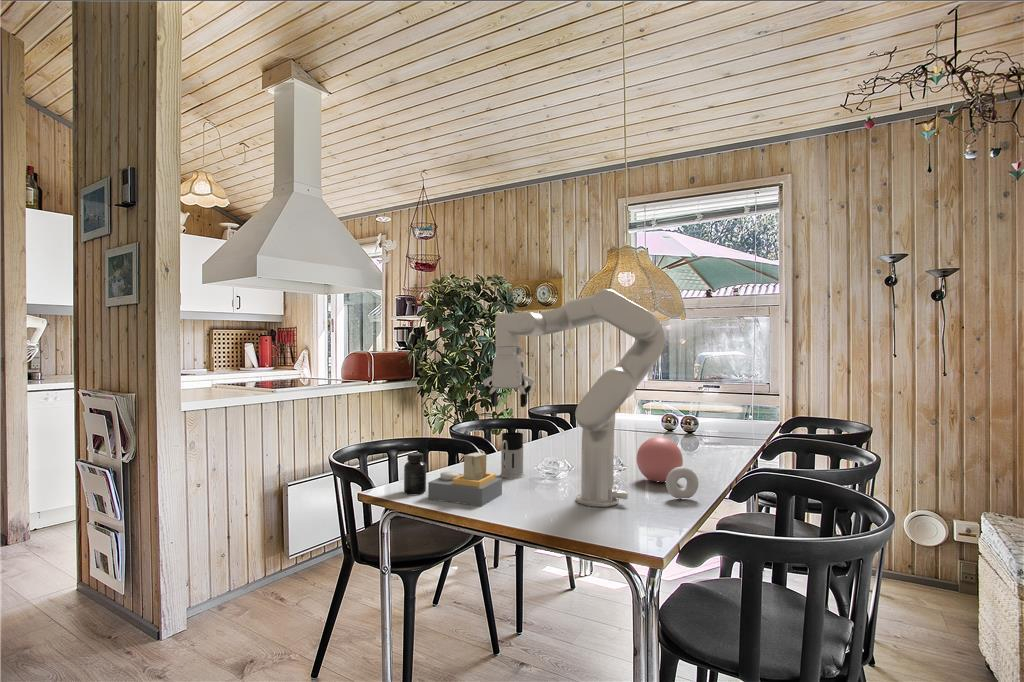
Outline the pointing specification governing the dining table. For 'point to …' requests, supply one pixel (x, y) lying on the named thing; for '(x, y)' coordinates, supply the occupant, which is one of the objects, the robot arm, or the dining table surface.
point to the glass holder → (512, 455)
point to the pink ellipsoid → (658, 458)
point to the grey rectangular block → (465, 488)
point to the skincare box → (475, 466)
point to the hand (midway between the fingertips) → (509, 406)
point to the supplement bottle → (415, 474)
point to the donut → (673, 479)
